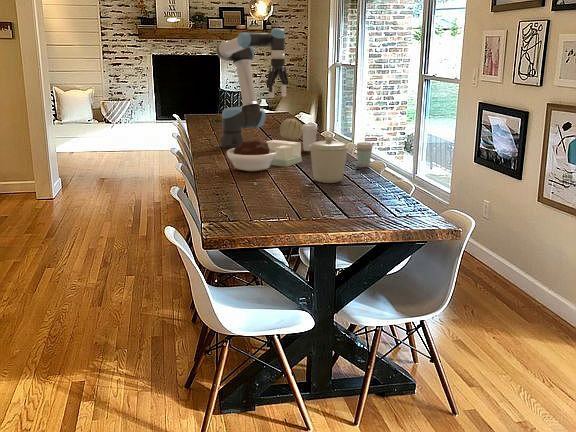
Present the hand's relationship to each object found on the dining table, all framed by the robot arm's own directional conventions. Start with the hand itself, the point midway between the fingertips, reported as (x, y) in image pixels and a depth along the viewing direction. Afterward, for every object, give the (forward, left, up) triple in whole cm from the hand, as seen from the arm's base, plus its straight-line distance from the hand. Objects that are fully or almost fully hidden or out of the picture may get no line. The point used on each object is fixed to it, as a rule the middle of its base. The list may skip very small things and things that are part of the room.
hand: (277, 97), depth 351 cm
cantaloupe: (-15, +42, -32) cm, 55 cm away
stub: (+18, -24, -31) cm, 43 cm away
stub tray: (+18, -24, -32) cm, 44 cm away
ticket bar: (+8, -7, -32) cm, 33 cm away
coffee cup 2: (+58, -10, -32) cm, 67 cm away
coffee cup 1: (+11, +18, -32) cm, 38 cm away
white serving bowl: (+14, -48, -32) cm, 59 cm away
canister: (+58, -51, -32) cm, 84 cm away
